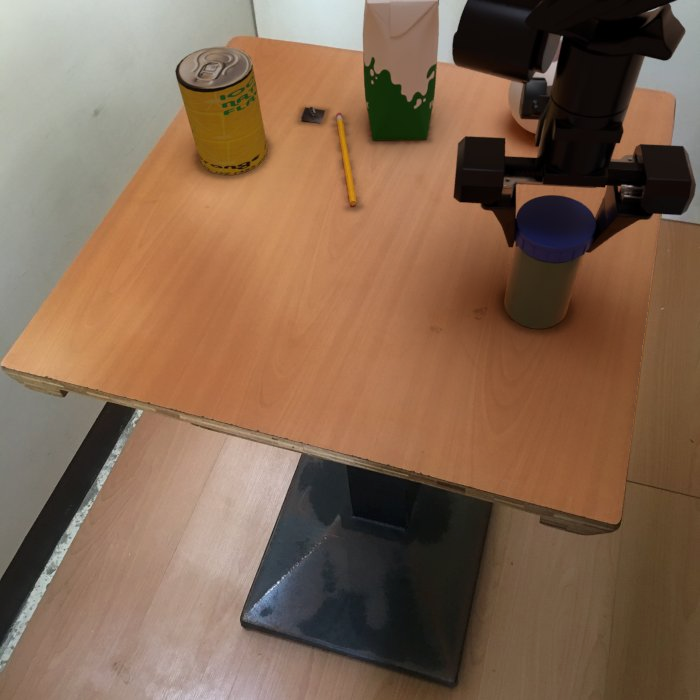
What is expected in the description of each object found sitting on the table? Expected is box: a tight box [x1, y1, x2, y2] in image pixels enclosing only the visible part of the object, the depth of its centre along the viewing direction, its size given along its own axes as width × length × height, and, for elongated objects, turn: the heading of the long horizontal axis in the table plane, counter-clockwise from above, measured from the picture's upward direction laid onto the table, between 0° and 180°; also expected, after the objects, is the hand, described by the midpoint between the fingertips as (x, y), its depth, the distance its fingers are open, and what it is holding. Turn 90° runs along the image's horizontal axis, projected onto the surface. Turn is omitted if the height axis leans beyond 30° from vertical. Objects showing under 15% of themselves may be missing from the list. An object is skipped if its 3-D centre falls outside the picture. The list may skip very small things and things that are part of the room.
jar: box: [503, 241, 585, 330], centre depth 63 cm, size 6×6×11 cm
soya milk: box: [362, 0, 440, 141], centre depth 79 cm, size 9×9×20 cm
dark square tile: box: [300, 106, 326, 124], centre depth 88 cm, size 3×3×1 cm
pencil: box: [335, 112, 357, 207], centre depth 82 cm, size 1×18×1 cm, turn 6°
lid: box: [515, 194, 596, 263], centre depth 58 cm, size 7×7×2 cm
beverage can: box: [174, 46, 269, 176], centre depth 80 cm, size 9×9×12 cm
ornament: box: [507, 39, 562, 135], centre depth 80 cm, size 10×10×12 cm
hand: (549, 246), depth 60 cm, fingers closed on lid, 7 cm apart
